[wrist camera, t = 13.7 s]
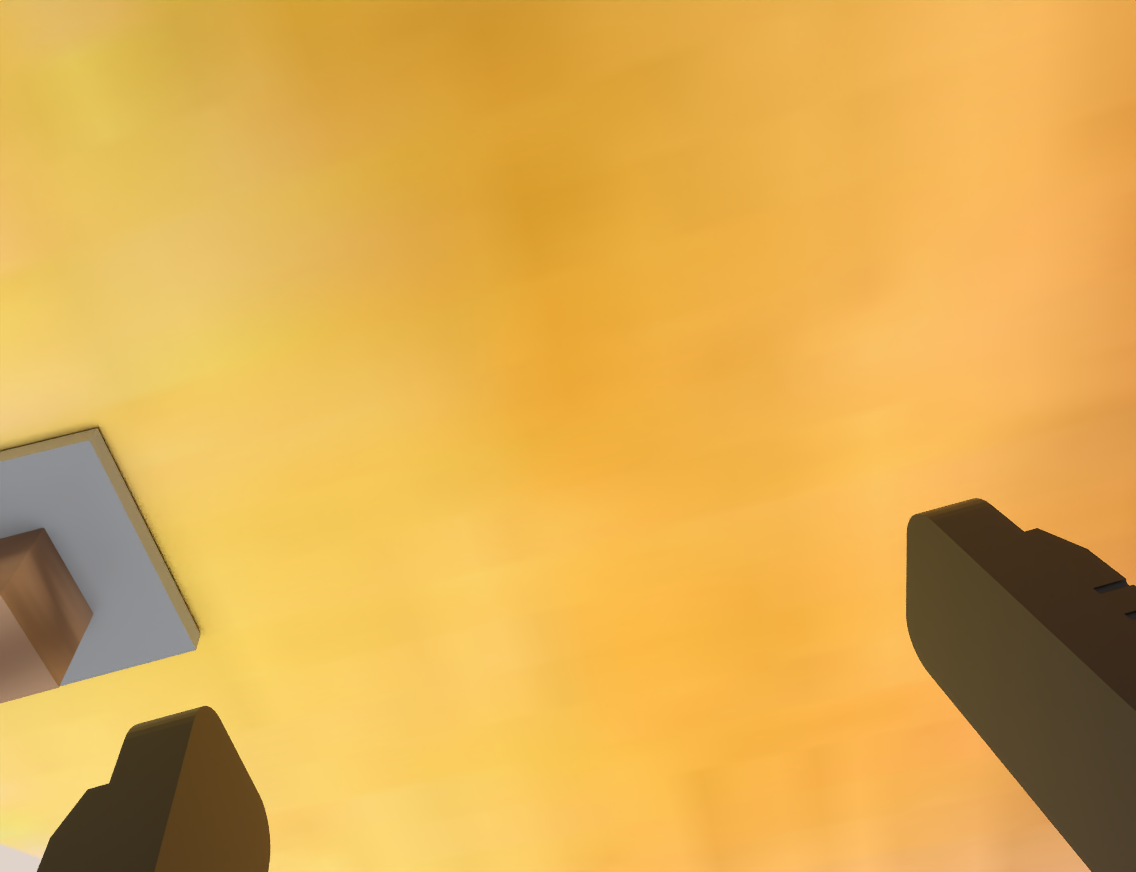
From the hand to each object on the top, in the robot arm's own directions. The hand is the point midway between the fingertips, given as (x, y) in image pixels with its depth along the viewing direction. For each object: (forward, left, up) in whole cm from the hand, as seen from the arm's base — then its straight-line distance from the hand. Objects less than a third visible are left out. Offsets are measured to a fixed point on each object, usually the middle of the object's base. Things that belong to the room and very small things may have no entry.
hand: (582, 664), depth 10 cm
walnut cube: (+13, -23, -29) cm, 39 cm away
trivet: (+13, -23, -30) cm, 40 cm away
